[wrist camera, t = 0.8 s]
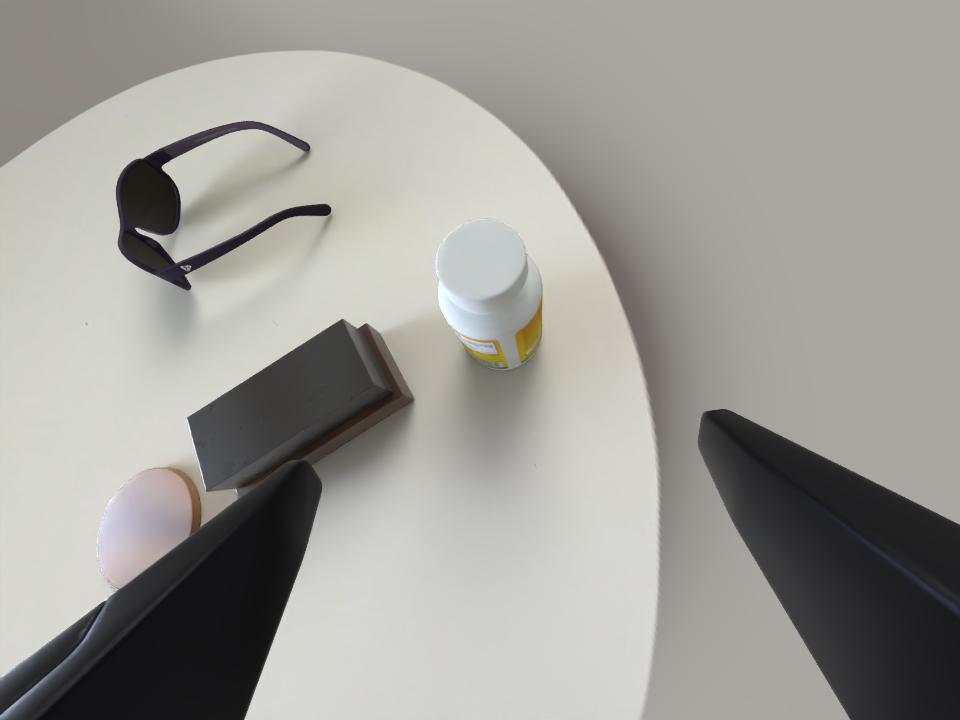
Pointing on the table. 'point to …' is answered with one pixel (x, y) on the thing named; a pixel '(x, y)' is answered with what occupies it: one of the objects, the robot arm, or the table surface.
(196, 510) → the cork coaster
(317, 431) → the sharpening stone
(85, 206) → the table surface
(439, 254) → the supplement bottle
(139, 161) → the sunglasses
